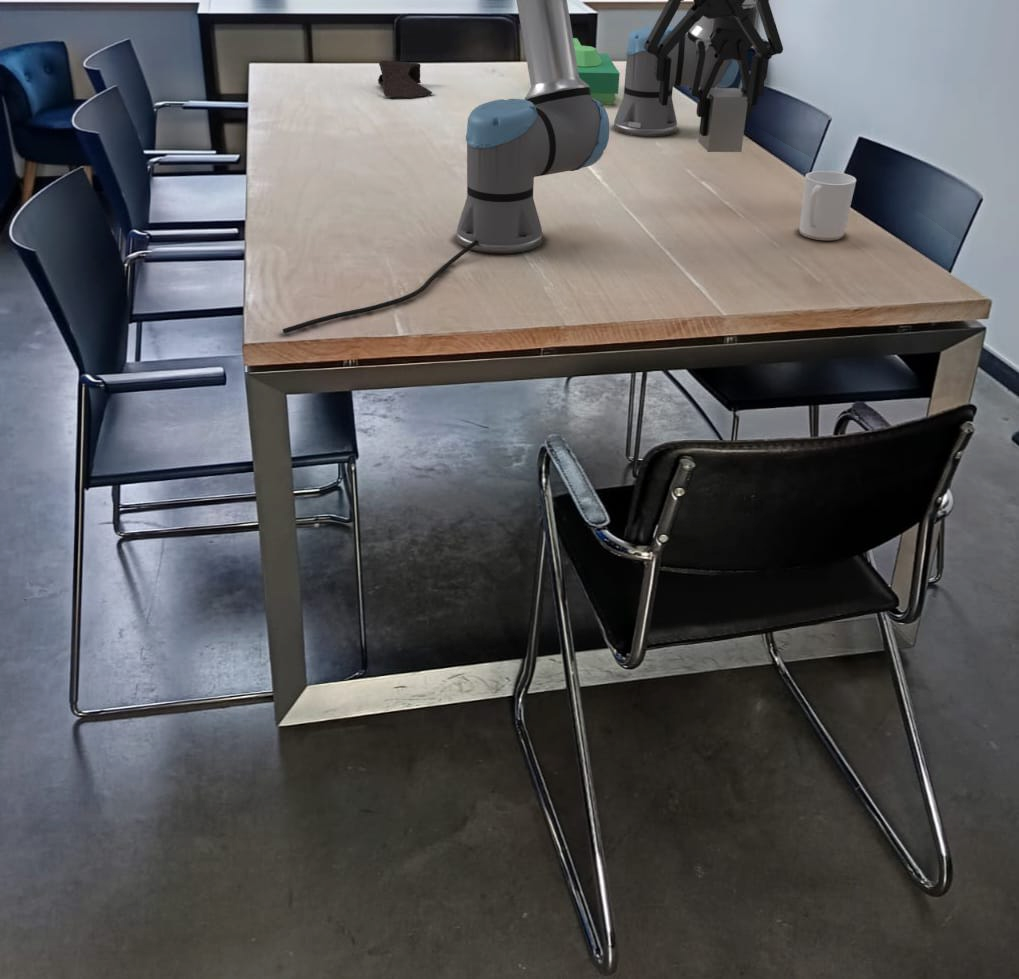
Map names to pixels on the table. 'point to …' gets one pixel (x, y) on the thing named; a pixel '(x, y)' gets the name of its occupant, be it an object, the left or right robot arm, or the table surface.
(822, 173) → the mug
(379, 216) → the table surface
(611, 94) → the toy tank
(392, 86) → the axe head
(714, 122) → the brick
